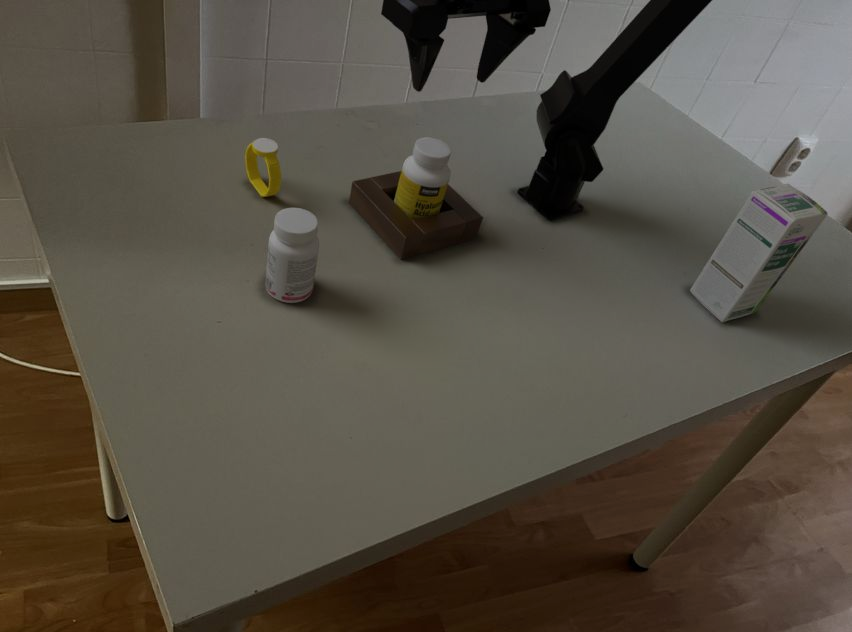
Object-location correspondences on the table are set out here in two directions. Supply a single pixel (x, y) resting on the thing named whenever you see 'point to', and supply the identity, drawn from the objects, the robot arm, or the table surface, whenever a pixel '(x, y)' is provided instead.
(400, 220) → the socket block
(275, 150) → the watch
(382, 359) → the table surface
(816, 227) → the syrup box
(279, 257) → the pill bottle
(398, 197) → the supplement bottle
